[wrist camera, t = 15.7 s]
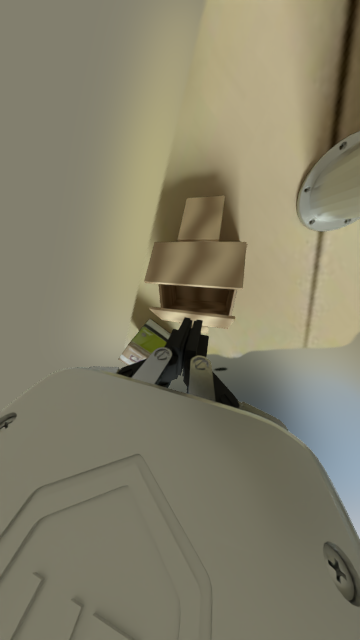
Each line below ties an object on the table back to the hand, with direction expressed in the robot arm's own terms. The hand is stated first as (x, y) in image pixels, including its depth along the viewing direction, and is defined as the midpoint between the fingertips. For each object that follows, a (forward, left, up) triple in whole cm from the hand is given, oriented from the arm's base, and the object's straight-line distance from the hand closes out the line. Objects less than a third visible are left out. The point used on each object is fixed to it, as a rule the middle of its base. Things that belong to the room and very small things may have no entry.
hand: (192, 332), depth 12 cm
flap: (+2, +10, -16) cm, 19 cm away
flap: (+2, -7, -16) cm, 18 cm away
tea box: (+17, +27, -29) cm, 43 cm away
